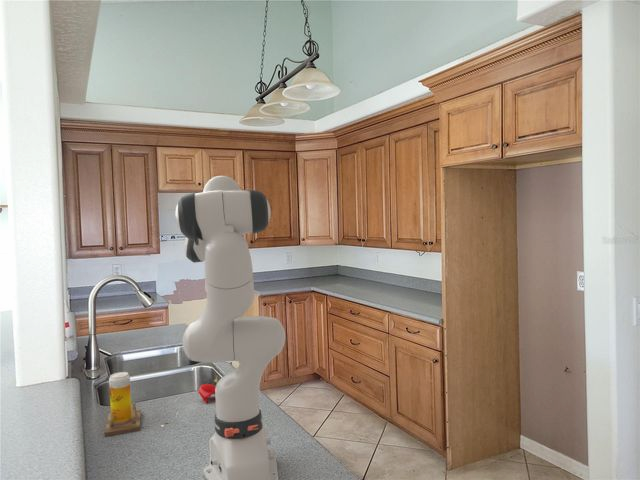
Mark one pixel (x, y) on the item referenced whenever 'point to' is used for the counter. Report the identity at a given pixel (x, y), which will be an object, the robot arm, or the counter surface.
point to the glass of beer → (120, 397)
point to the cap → (206, 391)
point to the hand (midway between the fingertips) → (229, 308)
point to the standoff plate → (126, 427)
